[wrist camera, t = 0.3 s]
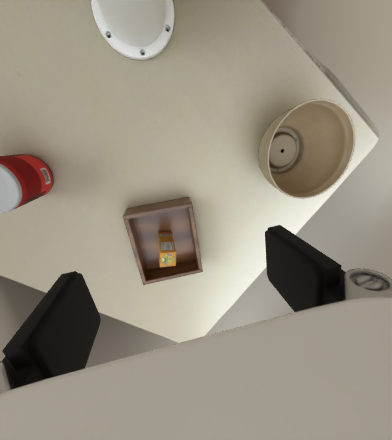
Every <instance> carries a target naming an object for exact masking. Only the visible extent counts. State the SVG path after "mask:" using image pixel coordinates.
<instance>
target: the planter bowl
mask: <svg viewBox="0 0 392 440" xmlns="http://www.w3.org/2000/svg"><path fill="white" fill-rule="evenodd" d="M354 146H355V130H354V126H353V122H352V120H351V118H350V116H349V114H348V113H347V111H346V110H345V109H344V108H343V107H342V106H340V105H339V104H337V103H335V102H333V101H331V100H327V99H314V100H310V101H306V102H304V103H301V104H299V105H297V106H296V107H294V108H292V109H290V110H288V111H286V112H285V113H283V114H282V115H280V116H279V117H278V118H277V119H276V120H275V121H274V122H273V123H272V124H271V125H270V126H269V127H268V129H267V130H266V132H265V133H264V135H263V137H262V140H261V142H260V146H259V152H258V159H259V165H260V168H261V171H262V173H263V175H264V176H265V178H266V179H267V180H268V182H269V183H270V184H272V185H273V186H274V187H275V188H277V189H278V190H279V191H281V192H282V193H284V194H286V195H288V196H290V197H294V198H300V199H304V198H311V197H314V196H317V195H320V194H322V193H324V192H325V191H327V190H328V189H330V188H331V187H332V186H333V185H334V184H335V183H336V182H337V181H338V180H339V179H340V178H341V176H342V175H343V174H344V172H345V171H346V169H347V167H348V165H349V163H350V161H351V158H352V155H353V151H354ZM281 149H283V150H284V151H283V152H282V153H281Z"/></svg>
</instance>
